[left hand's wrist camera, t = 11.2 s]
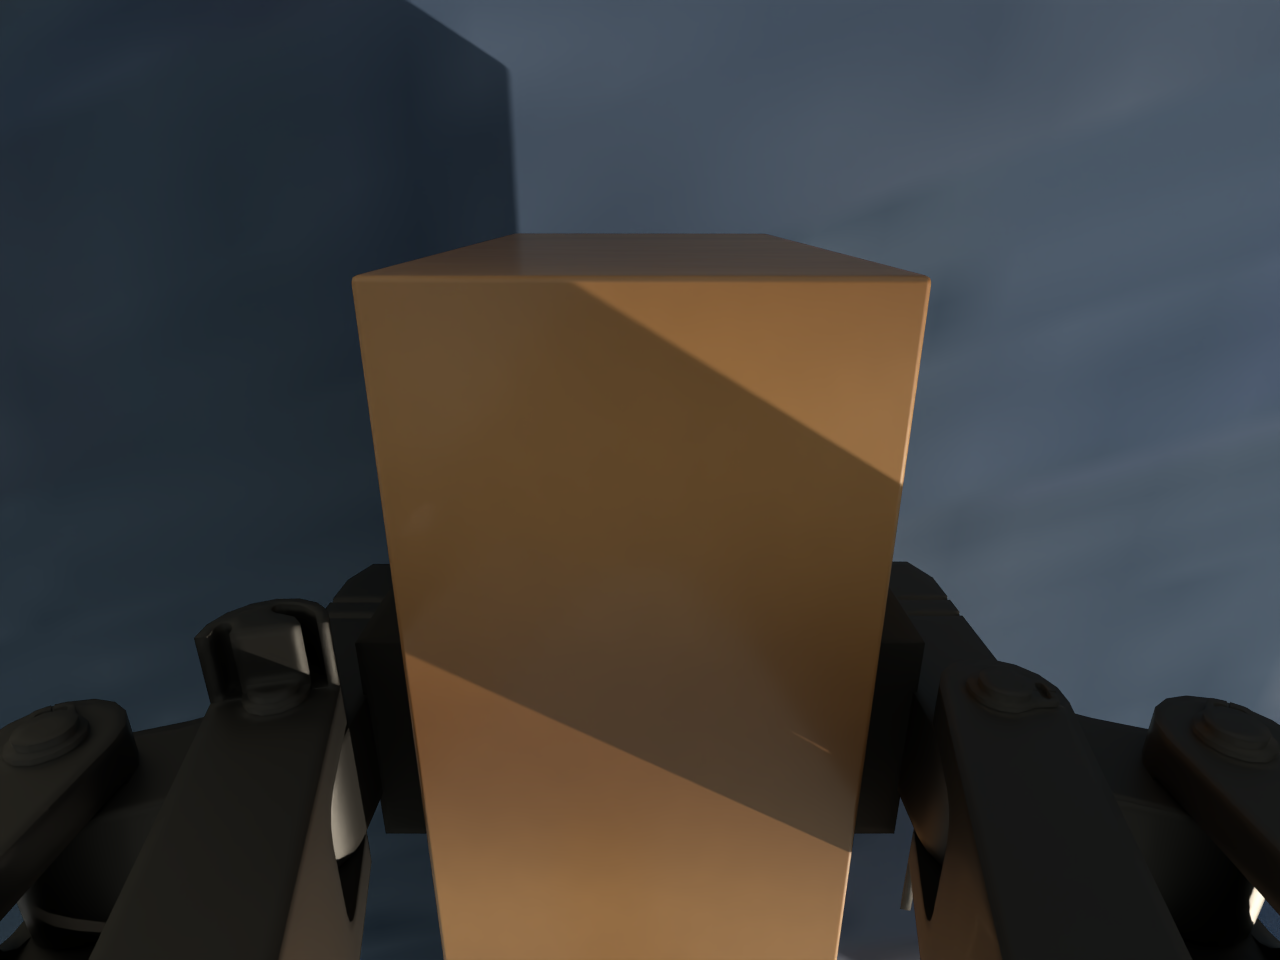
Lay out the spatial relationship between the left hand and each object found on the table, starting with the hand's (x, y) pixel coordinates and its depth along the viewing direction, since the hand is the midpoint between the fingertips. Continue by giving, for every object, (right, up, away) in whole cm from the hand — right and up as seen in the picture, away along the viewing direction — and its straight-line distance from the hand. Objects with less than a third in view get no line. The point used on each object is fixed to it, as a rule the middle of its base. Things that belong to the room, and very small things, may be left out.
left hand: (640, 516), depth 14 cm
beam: (0, -23, +9) cm, 25 cm away
